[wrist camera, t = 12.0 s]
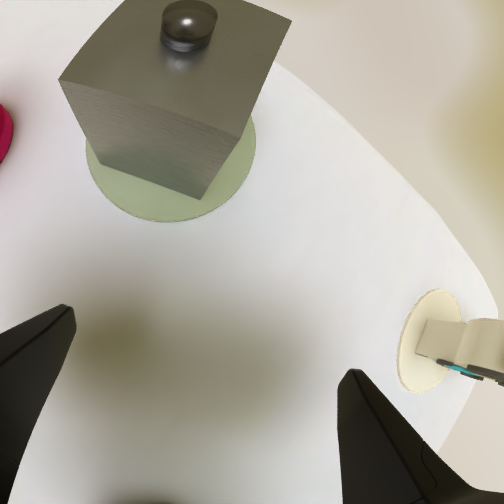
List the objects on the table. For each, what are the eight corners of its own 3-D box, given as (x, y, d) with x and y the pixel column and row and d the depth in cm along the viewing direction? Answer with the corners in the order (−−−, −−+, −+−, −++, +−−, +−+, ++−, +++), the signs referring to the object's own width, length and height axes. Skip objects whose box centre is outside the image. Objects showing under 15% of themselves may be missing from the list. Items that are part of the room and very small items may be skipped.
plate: (85, 228, 17) (83, 227, 16) (97, 76, 17) (96, 72, 17) (260, 217, 21) (263, 215, 20) (246, 74, 21) (248, 70, 20)
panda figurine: (375, 380, 23) (513, 436, 9) (418, 268, 25) (558, 266, 11) (435, 398, 26) (536, 433, 12) (467, 310, 28) (570, 318, 14)
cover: (200, 200, 19) (251, 122, 8) (100, 164, 17) (49, 61, 6) (236, 112, 20) (303, 5, 9) (146, 80, 18) (153, -42, 7)
